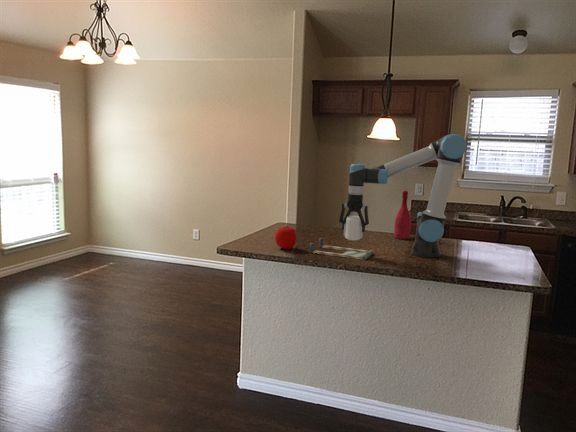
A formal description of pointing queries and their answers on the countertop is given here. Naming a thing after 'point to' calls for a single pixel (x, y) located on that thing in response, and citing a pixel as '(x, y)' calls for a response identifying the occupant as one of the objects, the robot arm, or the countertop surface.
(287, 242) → the tomato
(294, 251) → the countertop surface
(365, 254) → the bay
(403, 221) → the wine bottle
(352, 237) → the beverage can
